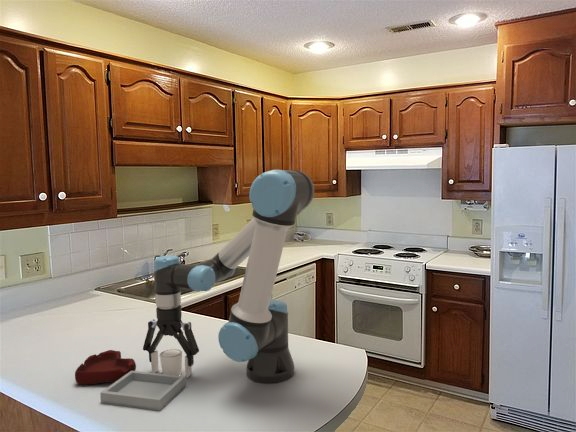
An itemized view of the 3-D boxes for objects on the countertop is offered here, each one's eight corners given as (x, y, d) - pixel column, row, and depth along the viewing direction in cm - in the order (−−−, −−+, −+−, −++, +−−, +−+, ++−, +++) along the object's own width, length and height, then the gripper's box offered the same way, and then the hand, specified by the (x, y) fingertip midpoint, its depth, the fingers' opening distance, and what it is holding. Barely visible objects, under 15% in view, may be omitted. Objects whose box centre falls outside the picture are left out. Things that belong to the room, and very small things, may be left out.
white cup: (160, 380, 138) (159, 358, 137) (160, 371, 144) (159, 350, 144) (183, 377, 140) (182, 355, 139) (182, 368, 146) (181, 347, 146)
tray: (185, 386, 134) (185, 376, 134) (159, 410, 120) (159, 400, 120) (131, 379, 139) (131, 370, 138) (100, 403, 125) (100, 392, 125)
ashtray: (65, 377, 142) (64, 362, 142) (115, 361, 153) (114, 347, 153) (87, 396, 129) (86, 379, 129) (140, 377, 141) (140, 362, 140)
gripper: (208, 304, 141) (211, 372, 143) (142, 300, 147) (145, 365, 149) (197, 311, 133) (200, 382, 135) (128, 306, 140) (132, 375, 142)
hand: (171, 373), depth 142 cm, fingers open, 11 cm apart
